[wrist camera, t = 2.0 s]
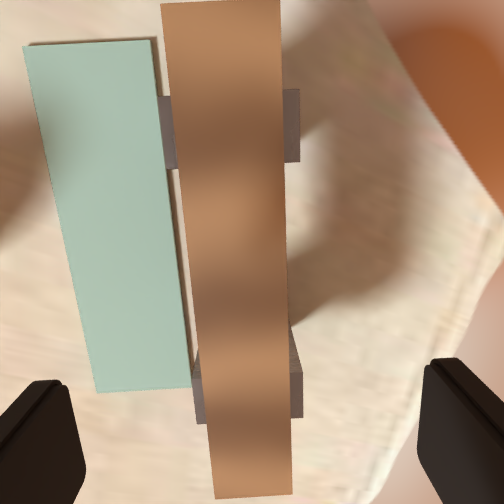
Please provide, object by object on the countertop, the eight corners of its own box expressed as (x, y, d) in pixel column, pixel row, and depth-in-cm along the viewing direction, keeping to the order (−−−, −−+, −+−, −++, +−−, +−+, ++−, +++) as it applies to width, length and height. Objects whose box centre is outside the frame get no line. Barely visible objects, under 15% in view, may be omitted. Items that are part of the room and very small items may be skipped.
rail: (180, 38, 16) (160, 3, 12) (270, 33, 16) (280, -3, 12) (219, 437, 22) (215, 499, 18) (283, 433, 22) (292, 494, 18)
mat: (25, 48, 23) (22, 46, 22) (151, 41, 23) (149, 39, 22) (98, 390, 30) (96, 393, 30) (192, 384, 30) (191, 387, 30)
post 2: (207, 303, 28) (191, 378, 19) (283, 298, 28) (302, 372, 19) (211, 336, 29) (196, 424, 20) (284, 332, 29) (303, 417, 20)
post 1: (189, 114, 24) (157, 96, 15) (277, 110, 24) (299, 89, 15) (194, 160, 25) (166, 169, 16) (279, 155, 25) (300, 161, 16)
